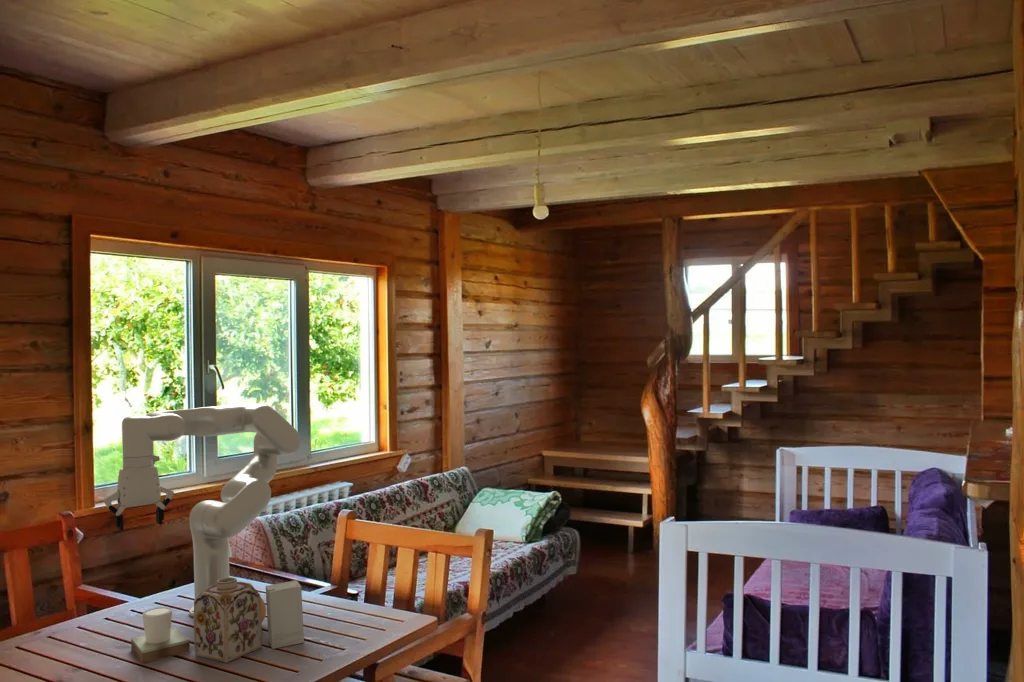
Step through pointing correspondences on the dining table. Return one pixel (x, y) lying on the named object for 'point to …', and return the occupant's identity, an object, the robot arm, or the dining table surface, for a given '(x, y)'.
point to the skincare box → (284, 614)
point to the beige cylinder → (157, 624)
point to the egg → (263, 610)
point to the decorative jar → (227, 620)
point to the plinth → (160, 647)
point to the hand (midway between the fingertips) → (140, 526)
